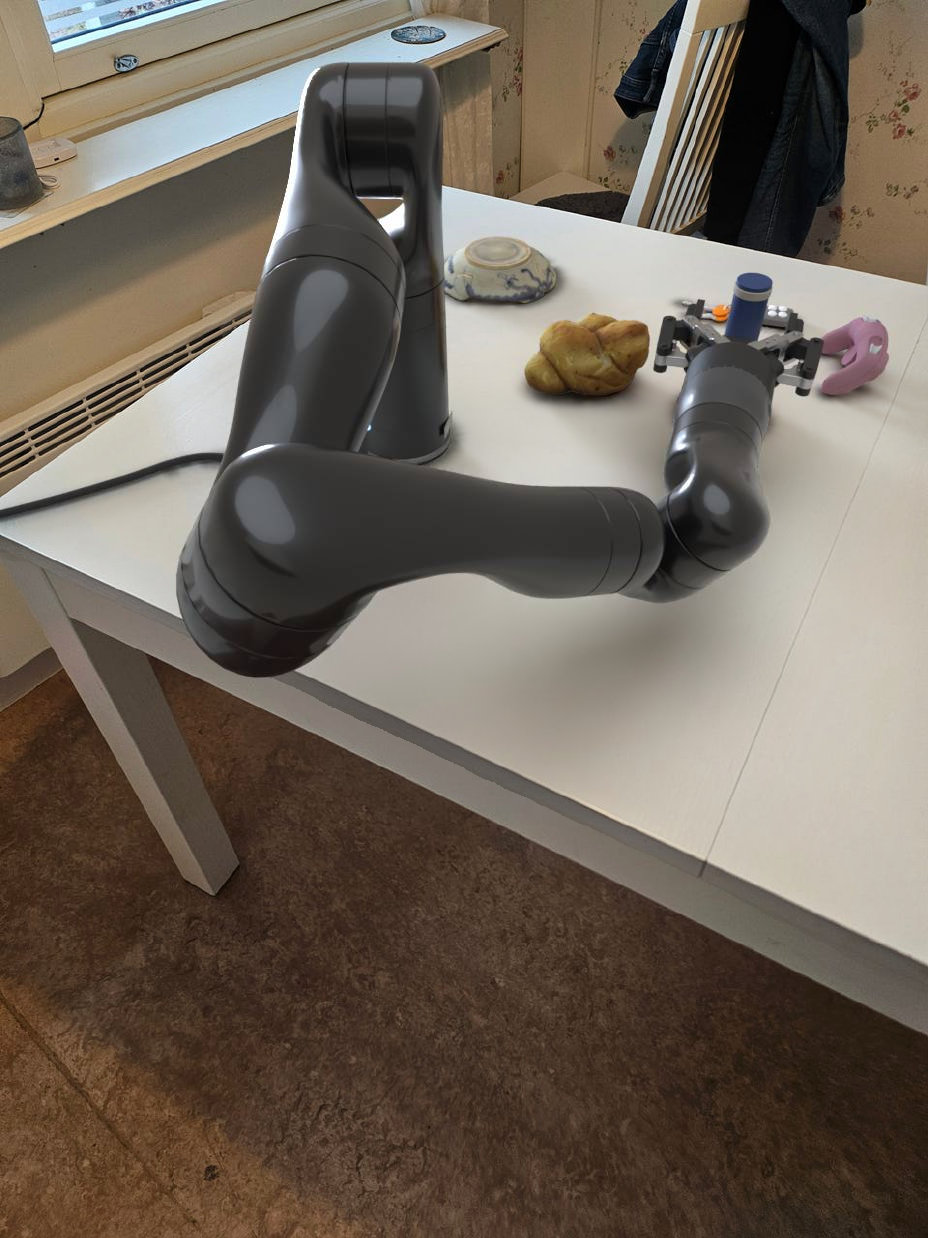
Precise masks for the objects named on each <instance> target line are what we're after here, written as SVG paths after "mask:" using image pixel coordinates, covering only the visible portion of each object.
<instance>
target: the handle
mask: <svg viewBox="0 0 928 1238" xmlns="http://www.w3.org/2000/svg"><path fill="white" fill-rule="evenodd" d="M773 284H774V283H773V279H772V278H771V277H769V275H767V274H764V273H759V272H744V273H741V274H739V275H738V276H737V278H736V280H735V282H734V285H733V295H732V299H731V302H730V304H731V306H729V309H730V311H729V313H728V314H729V316H728V318H727V320H726V325H725V330H724V334H723V335H726V336H732V337H736V338H739V339H753V340H758V341H759V337H760V334H761V330H762V327H763V324H762V323H763V319H764V315H765V311H766V307H767V306H768V304H769V303H768V302H769V300H770V297H771V296H772V292H773V287H774V286H773Z"/></svg>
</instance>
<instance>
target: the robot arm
mask: <svg viewBox="0 0 928 1238" xmlns="http://www.w3.org/2000/svg"><path fill="white" fill-rule="evenodd" d="M299 104H300V105H299V110H298V114H297V120H296V128H295V133H294V134H295V136H294V142H293V149H292V150H293V151H292V156H291V164H290V170H289V176H288V180H287V181H288V182H287V186H286V190H285V194H284V198H283V202H282V206H281V210H280V214H279V217H278V219H277V220H278V221H277V222H276V223H277V224H276V227H275V231H274V234H273V236H272V237H273V238H272V240H271V243H270V247H269V249H268V252H267V254H266V257H265V260H264V264H263V267H262V270H261V274H260V277H259V281H258V285H257V288H256V292H255V295H254V298H253V299H254V300H253V304H252V308H251V315H250V319H249V325H248V330H247V333H246V334H247V335H246V339H245V343H244V350H243V354H242V359H241V365H240V370H239V377H238V383H237V389H236V393H235V402H234V408H233V416H232V420H231V421H232V422H231V427H230V432H229V436H228V439H227V444H226V447H225V450H224V452H211V451H209V452H195V453H189V454H185V455H181V456H177V457H174V458H170V459H166V460H164V461H160V462H157V463H155V464H151V465H148V466H147V467H144V468H141V469H138V470H135V471H132V472H130V473H125V474H123V475H120V476H119V475H118V476H117V477H113V478H110V479H106V480H103V481H100V482H96V483H93V484H90V485H86V486H84V487H80V488H75V489H72V490H69V491H66V492H63V493H58V494H55V495H52V496H48V497H44V498H41V499H37V500H33V501H29V502H26V503H25V502H24V503H20V504H17V505H14V506H10V507H4V508H2V509H0V519H4V518H7V517H8V518H9V517H12V516H16V515H20V514H23V513H27V512H31V511H35V510H40V509H43V508H47V507H51V506H54V505H58V504H61V503H64V502H68V501H71V500H75V499H78V498H81V497H85V496H88V495H91V494H95V493H98V492H103V491H105V490H108V489H111V488H115V487H118V486H122V485H124V484H127V483H130V482H134V481H137V480H140V479H142V478H145V477H148V476H152V475H154V474H156V473H158V472H159V473H160V472H162V471H165V470H167V469H171V468H175V467H177V466H181V465H186V464H191V463H195V462H202V461H217V462H221V463H220V465H219V468H218V469H217V473H216V476H215V478H214V482H213V483H212V485H211V488H210V491H209V493H208V495H207V498H206V500H205V502H204V505H203V506H202V508H201V510H200V511H199V514H198V516H197V517H196V519H195V522H194V523H193V526H192V528H191V530H190V532H189V534H188V536H187V538H186V540H185V542H184V545H183V547H182V549H181V551H180V554H179V556H178V561H177V567H176V573H175V595H176V600H177V604H178V609H179V613H180V617H181V618H182V621H183V623H184V625H185V629H186V631H187V633H188V634H189V635H190V637H191V638H192V640H193V642H194V644H195V645H196V646H197V647H198V648H199V650H200V651H202V653H204V655H205V656H206V657H207V658H208V659H210V660H211V661H212V662H213V663H215V664H217V665H218V666H220V667H221V668H222V669H223V670H227V671H228V672H231V673H232V674H233V673H234V674H235V675H238V676H243V677H246V678H254V679H259V678H273V677H278V676H284V675H286V674H289V673H291V672H293V671H296V670H298V669H300V668H302V667H304V666H306V665H308V664H309V663H311V662H313V661H314V660H315V659H316V658H318V657H319V656H321V655H323V653H326V651H328V650H329V649H330V648H331V647H332V645H333V644H334V643H336V642H337V641H338V639H340V637H341V636H342V634H343V633H344V632H345V631H346V630H347V628H348V627H349V626H350V625H352V623H353V622H354V621H355V620H356V618H357V617H358V616H359V614H361V613H362V612H363V611H364V610H365V609H366V608H367V607H368V606H369V604H371V601H373V599H374V597H375V596H376V595H377V594H378V592H380V591H383V590H386V589H389V588H392V587H396V586H399V585H402V584H406V583H410V582H415V581H418V580H423V579H429V578H432V577H437V576H442V575H450V574H451V575H452V574H455V575H456V574H468V575H469V574H470V575H477V576H480V577H484V578H486V579H489V580H490V581H492V582H493V583H495V584H497V585H499V586H501V587H503V588H505V589H507V590H508V591H510V592H514V593H516V594H519V595H522V596H526V597H530V598H534V599H535V598H536V599H545V600H549V599H550V600H556V599H557V600H560V599H575V598H585V597H594V596H596V597H597V596H604V595H605V596H606V595H613V594H617V595H620V596H622V597H627V598H631V599H635V600H640V601H644V602H647V603H653V604H669V603H674V602H678V601H681V600H684V599H688V598H689V597H691V596H693V595H695V594H697V593H699V592H701V591H702V590H704V589H705V588H707V587H709V586H710V585H711V584H712V583H714V582H715V581H717V580H719V579H721V578H722V577H723V576H724V575H726V574H728V573H729V572H732V570H734V569H735V568H738V567H739V566H741V565H742V564H743V563H745V562H746V561H748V560H749V559H751V558H752V557H753V556H754V555H755V554H756V553H757V552H758V551H759V549H760V548H761V547H762V545H763V543H764V541H765V540H766V538H767V535H768V533H769V530H770V528H771V527H770V526H771V513H770V509H769V506H768V502H767V500H766V498H765V495H764V492H763V487H762V482H761V479H760V476H759V471H758V464H759V460H760V455H761V449H762V445H763V443H764V440H765V439H766V436H767V432H768V428H769V422H770V420H771V418H772V410H773V409H772V406H773V398H774V393H775V389H776V388H778V386H779V385H780V384H781V385H786V386H790V387H795V391H794V393H795V394H796V395H797V396H799V397H808V396H810V393H811V390H812V387H813V384H814V381H815V378H816V375H817V372H818V368H819V364H820V360H821V356H822V353H821V352H822V348H823V344H824V341H823V340H822V339H821V337H811V338H810V339H806V338H805V337H804V335H805V334H804V333H803V332H804V327H805V326H804V325H805V321H804V320H803V319H802V318H798V316H799V313H797V312H793V313H792V312H790V315H789V319H788V322H787V326H786V327H785V328H784V329H785V330H784V334H783V335H780V334H779V333H775V334H772V335H770V336H767V337H765V338H763V339H761V340H759V339H758V340H753V339H739V338H736V337H732V336H726V335H724V334H720V333H719V331H718V330H717V329H715V328H714V327H713V326H712V325H711V324H710V323H708V322H707V323H703V322H702V319H703V318H702V314H703V313H704V310H705V309H704V305H705V304H706V299H700V298H697V301H696V303H697V304H693V303H694V302H692V303H691V304H690V305H687V309H686V312H685V315H684V316H683V318H682V319H677V318H676V317H675V316H673V315H665V316H663V318H662V322H661V327H660V331H659V335H658V340H657V343H656V349H655V354H654V361H653V367H652V370H653V371H654V372H655V373H658V374H664V373H666V372H667V369H668V367H675V368H682V369H683V371H684V373H685V376H684V380H683V383H682V385H681V389H680V392H679V394H678V396H677V398H676V403H675V404H676V406H675V409H674V413H673V419H672V430H671V434H670V437H669V440H668V444H667V447H666V451H665V454H664V459H663V463H662V464H663V467H662V478H663V484H664V486H665V489H666V491H667V494H664V496H663V497H662V498H659V500H658V501H656V502H655V503H654V501H652V500H651V498H649V497H648V496H647V495H646V494H643V493H642V492H640V491H637V490H635V489H632V488H628V487H622V486H609V485H608V486H606V485H605V486H604V485H603V486H593V485H592V486H589V485H588V486H585V485H583V486H582V485H581V486H580V485H575V486H574V485H568V486H567V485H564V486H563V485H556V486H555V485H551V486H550V485H529V484H520V483H519V484H518V483H512V482H511V483H510V482H504V481H499V480H492V479H488V478H482V477H478V476H474V475H469V474H464V473H459V472H455V471H452V470H451V471H450V470H445V469H441V468H436V467H432V466H428V465H421V464H424V463H426V462H429V461H431V460H433V459H435V458H437V457H438V456H440V455H441V454H442V453H444V452H445V451H446V449H447V448H448V446H449V445H450V441H451V425H452V423H453V410H451V411H450V409H449V408H450V407H449V405H450V404H449V403H450V402H449V374H448V345H447V344H448V342H447V316H446V315H447V313H446V312H447V310H446V292H445V278H444V264H445V256H444V255H445V254H444V252H445V251H444V235H443V234H444V233H443V232H444V231H443V229H444V228H443V168H444V167H443V166H444V163H443V162H444V107H443V96H442V90H441V86H440V82H439V80H438V77H437V74H436V72H435V71H434V69H432V67H430V65H428V64H426V63H422V62H411V61H410V62H409V61H407V62H405V61H404V62H403V61H402V62H401V61H400V62H397V61H396V62H394V61H386V62H385V61H382V62H381V61H380V62H379V61H377V62H376V61H370V62H369V61H368V62H366V61H364V62H363V61H361V62H360V61H355V62H354V61H353V62H352V61H351V62H350V61H349V62H348V61H342V62H341V61H339V62H332V63H327V64H324V65H321V66H319V67H317V68H315V70H313V71H312V72H311V73H310V75H309V77H308V78H307V80H306V82H305V85H304V88H303V91H302V94H301V99H300V103H299ZM361 199H362V200H364V199H365V200H367V199H368V200H370V199H371V200H376V199H377V200H394V199H396V200H401V201H402V204H400V205H399V206H398V207H397V208H395V210H393V211H391V212H390V213H388V214H386V215H385V216H382V217H380V218H377V217H376V216H375V215H374V214H373V213H372V211H370V209H368V207H367V206H366V205H365V204H364V203H363V202H362V201H361ZM678 342H679V344H681V346H682V347H683V348H684V349H685V350H686V352H683V351H681V348H680V347H679V346H678V345H677V344H678ZM797 360H798V362H797V364H795V365H792V366H791V368H785V366H787V365H790V364H792V363H794V362H796V361H797Z"/></svg>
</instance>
